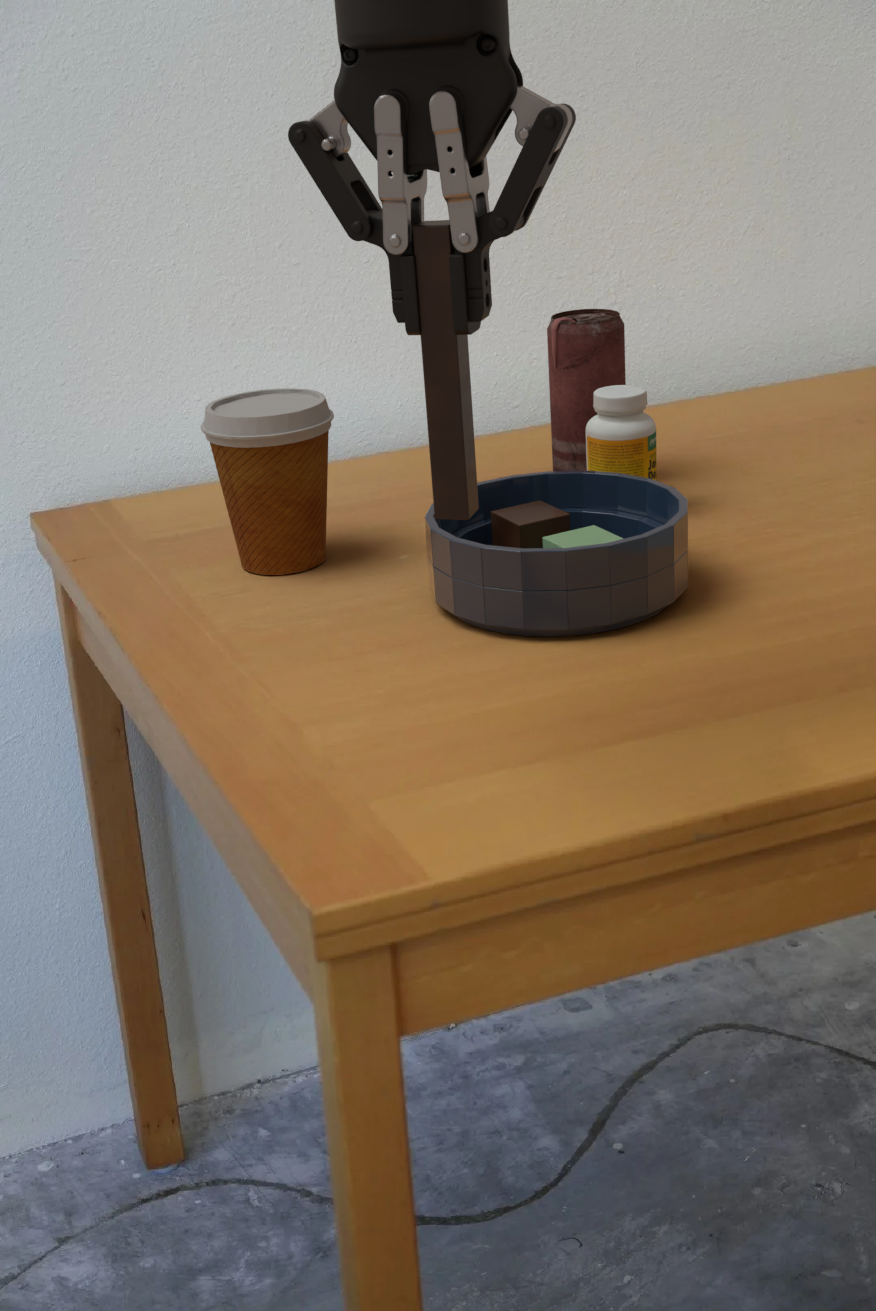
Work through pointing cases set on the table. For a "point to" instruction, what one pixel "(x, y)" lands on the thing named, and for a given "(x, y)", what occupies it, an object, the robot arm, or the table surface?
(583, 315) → the can
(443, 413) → the stick
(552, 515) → the walnut block
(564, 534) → the green block
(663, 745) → the table surface
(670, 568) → the bowl
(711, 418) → the table surface
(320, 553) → the disposable coffee cup
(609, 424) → the supplement bottle
